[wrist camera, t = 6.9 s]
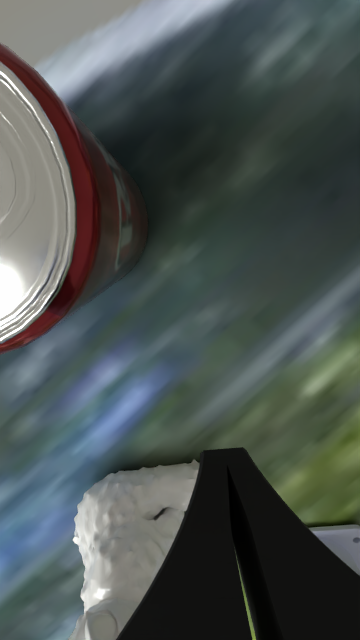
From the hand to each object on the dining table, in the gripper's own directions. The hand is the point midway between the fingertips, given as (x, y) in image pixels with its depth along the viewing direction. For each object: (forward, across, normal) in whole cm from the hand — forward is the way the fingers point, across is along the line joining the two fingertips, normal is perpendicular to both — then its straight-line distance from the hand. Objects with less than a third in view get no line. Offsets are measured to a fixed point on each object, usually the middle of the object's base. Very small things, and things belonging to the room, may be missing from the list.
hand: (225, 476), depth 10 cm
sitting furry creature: (+11, +5, +10) cm, 16 cm away
